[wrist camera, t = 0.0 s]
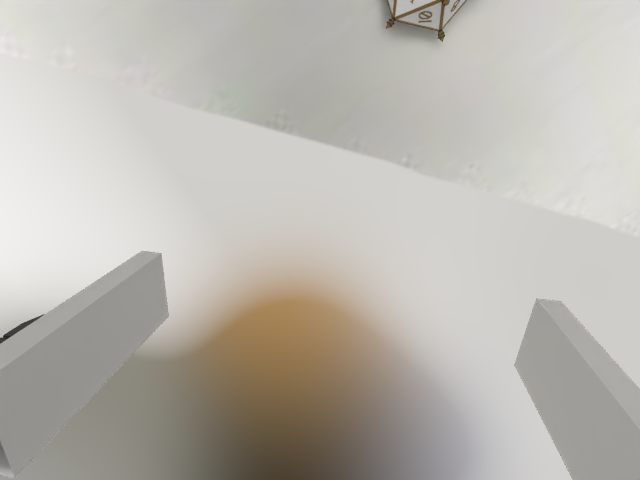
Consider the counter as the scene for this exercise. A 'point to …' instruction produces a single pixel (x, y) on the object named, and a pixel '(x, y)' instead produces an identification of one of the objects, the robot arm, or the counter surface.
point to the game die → (424, 13)
